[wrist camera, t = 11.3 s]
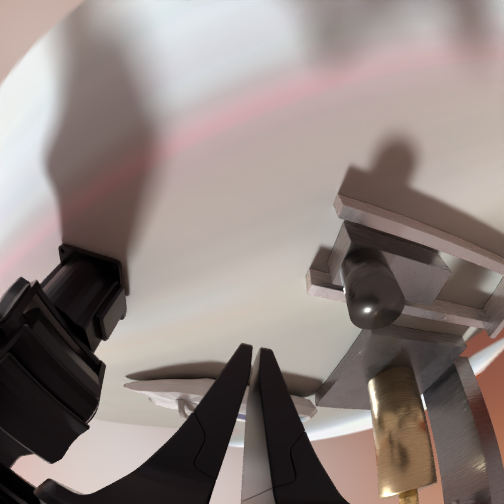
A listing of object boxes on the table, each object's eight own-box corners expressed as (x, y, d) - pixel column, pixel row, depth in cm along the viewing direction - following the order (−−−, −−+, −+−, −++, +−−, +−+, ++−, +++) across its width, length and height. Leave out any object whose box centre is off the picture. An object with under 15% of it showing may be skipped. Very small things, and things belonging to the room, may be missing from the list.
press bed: (315, 394, 28) (310, 575, 10) (368, 321, 21) (400, 585, 4) (423, 399, 28) (445, 539, 10) (482, 338, 22) (535, 503, 4)
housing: (361, 379, 23) (372, 514, 12) (410, 360, 22) (437, 496, 10) (374, 398, 25) (385, 513, 14) (417, 382, 23) (439, 497, 12)
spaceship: (321, 377, 26) (323, 416, 22) (315, 406, 29) (315, 439, 25) (113, 360, 29) (99, 390, 25) (133, 389, 32) (122, 416, 28)
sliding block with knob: (327, 261, 19) (339, 324, 14) (343, 222, 17) (365, 279, 12) (419, 284, 19) (447, 341, 14) (437, 252, 18) (474, 306, 12)
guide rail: (305, 277, 20) (308, 306, 17) (337, 193, 16) (347, 213, 14) (482, 317, 20) (494, 338, 18) (516, 264, 17) (533, 283, 14)
